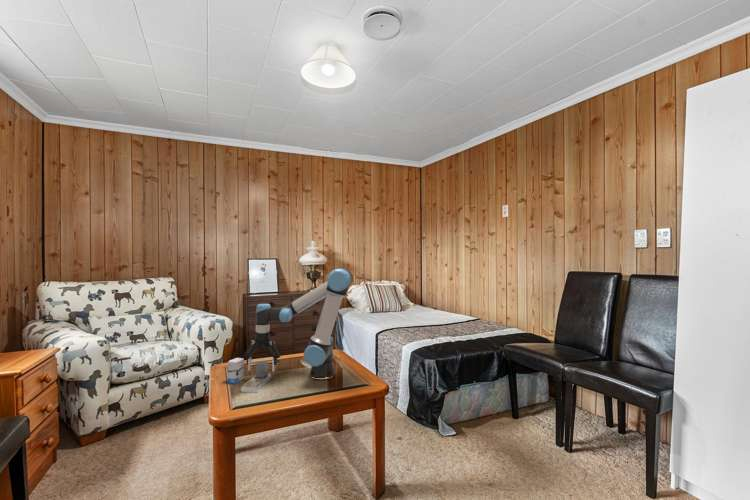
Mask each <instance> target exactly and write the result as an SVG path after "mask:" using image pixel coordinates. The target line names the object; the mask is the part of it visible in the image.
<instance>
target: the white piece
mask: <svg viewBox="0 0 750 500" xmlns="http://www.w3.org/2000/svg"><path fill="white" fill-rule="evenodd" d="M271 379H272V373H267V377H266V378H255V375H254V376H253V377H251V378H250V379H249V380H247V381H246V382H245V383H243V384H242V386H241V387H240V392H241V393H258V392H260V390H261V389H262V388H263V387H264V386H265V385H266V384H267V383H268V382H269V381H270V380H271Z"/></svg>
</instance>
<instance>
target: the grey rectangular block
mask: <svg viewBox="0 0 750 500" xmlns="http://www.w3.org/2000/svg"><path fill="white" fill-rule="evenodd" d="M268 364H269V363H268V361H257V362H256V363H255V371H254V372H255V375H254V376H255V378H266V377H267V374H268Z"/></svg>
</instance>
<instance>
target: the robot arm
mask: <svg viewBox="0 0 750 500" xmlns="http://www.w3.org/2000/svg"><path fill="white" fill-rule="evenodd" d="M353 282H354V274H353V273H352V272H351V270H349V269H348V268H335V269H333V270H332V271H331V272H330V273H329V274H328V276H327V280H326V281H325V282H324V283H322V284H320V285H319V286H317V287H316V288H314V289H312V290H310V291H309V292H307V293H305V294H303V295H302V296H300V297H298V298H297V299H295V300H294V301H292V302H290V303H288V304H287V305H284V306H282V307H272V306H271V304H269V303H259V304H257V305H256V309H255V337H254V339H255V340H253V339H251V340H249V343H248V344H249V345H248V346H247V348H246V350H245V352H244V354H243V356H242V357H243V358H244V359H245V358H246V365H247V371H248V372H250V371H251V370H252V357H251V356H252V355H253V354H254V353H255V352H256V351H257V350H261V349H262V350H266V351H267V352H268V353H269V354H270V356H271V357H272V367H271V368H272V370H271V371H272V372H274V371H275V370H276V366H277V364H278V359H280V358H281V353H280V352H279V350H278V347H277V345H276V340H270V337H271V335H270V334H271V333H270V327H271V325H270V324H271V322H273V323H274V322H276V323H278V322H279V323H289V322H291V320H292V319H293V318H295V316H296V315H298V314H299V313H301V312H303V311H304V310H306V309H308V308H309V307H311V306H313V305H315V304H316V303H318V302H319V301H322V300H323V299H325V300H324V304H323V307H322V309H321V313H320V316H319V319H318V322H317V325H316V330H315V333H314V334H313V335H312V336H311V337H310V339H309V341H308V346H307V347H306V348H305V349H304V352H303V358H304V361H305V362H306V363H307V365H309V366H311V367H310V370H309V372H308V376H310V377H314V378H325V377H331V376H333V375H335V376H336V374H335V373H336V369H335V366H334V361H333V359H334V338H333V336H331V335H332V333H333V329H334V327H335V323H336V320H337V316H338V313H339V311H340V309H341V304H342V300H343V299H344V298H345V297H347V296H348V295H347V294H348V291H349V288H350V287H351V286H352V284H353ZM253 345H255V346H254V348H253V349H252V347H253ZM271 347H272V348H271ZM251 349H252V350H251ZM250 350H251V351H250ZM310 377H309V378H310Z"/></svg>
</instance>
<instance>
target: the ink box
mask: <svg viewBox="0 0 750 500" xmlns="http://www.w3.org/2000/svg"><path fill="white" fill-rule="evenodd" d="M244 367H245V358H244V357H243V358H241V357H235V358H233V359H230V360H228V362H227V381H226V382H227V384H230V385H231V384H232V385H234V384H237V383H240V382H241V381H242V380H243V381H244V375H245V374H244V370H245V368H244Z"/></svg>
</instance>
